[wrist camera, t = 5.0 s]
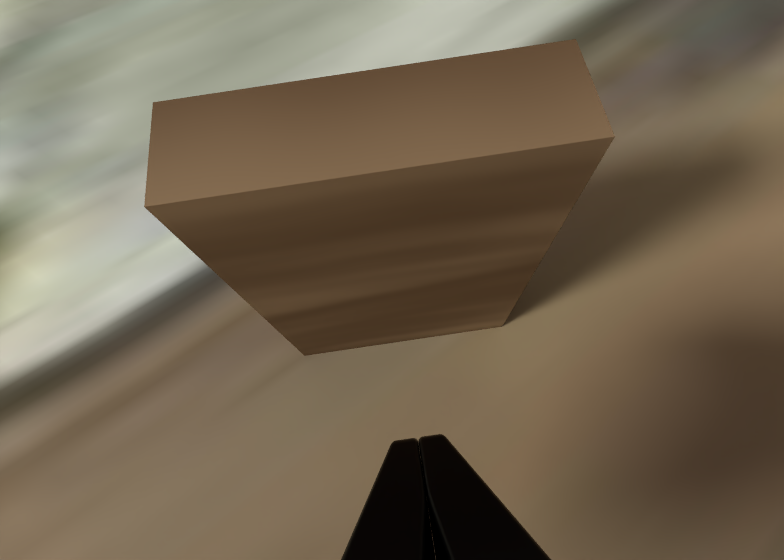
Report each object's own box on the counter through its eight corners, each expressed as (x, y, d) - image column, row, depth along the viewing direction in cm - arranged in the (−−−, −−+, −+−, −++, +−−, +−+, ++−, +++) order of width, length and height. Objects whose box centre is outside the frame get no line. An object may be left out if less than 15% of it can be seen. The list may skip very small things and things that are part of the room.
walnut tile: (502, 326, 16) (614, 136, 7) (304, 355, 16) (144, 206, 7) (489, 273, 17) (574, 37, 7) (301, 301, 17) (153, 100, 7)
